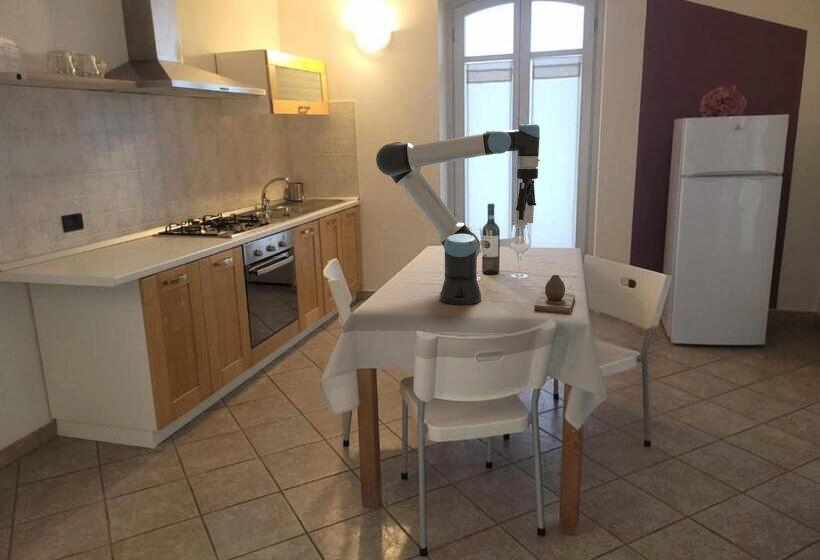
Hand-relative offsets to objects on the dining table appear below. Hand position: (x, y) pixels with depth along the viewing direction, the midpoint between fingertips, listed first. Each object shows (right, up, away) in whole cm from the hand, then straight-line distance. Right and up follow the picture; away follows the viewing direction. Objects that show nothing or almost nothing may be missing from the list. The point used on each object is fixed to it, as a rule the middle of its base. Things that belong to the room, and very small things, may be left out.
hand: (525, 225), depth 230 cm
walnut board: (+8, -29, -11) cm, 32 cm away
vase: (+8, -27, -12) cm, 31 cm away
